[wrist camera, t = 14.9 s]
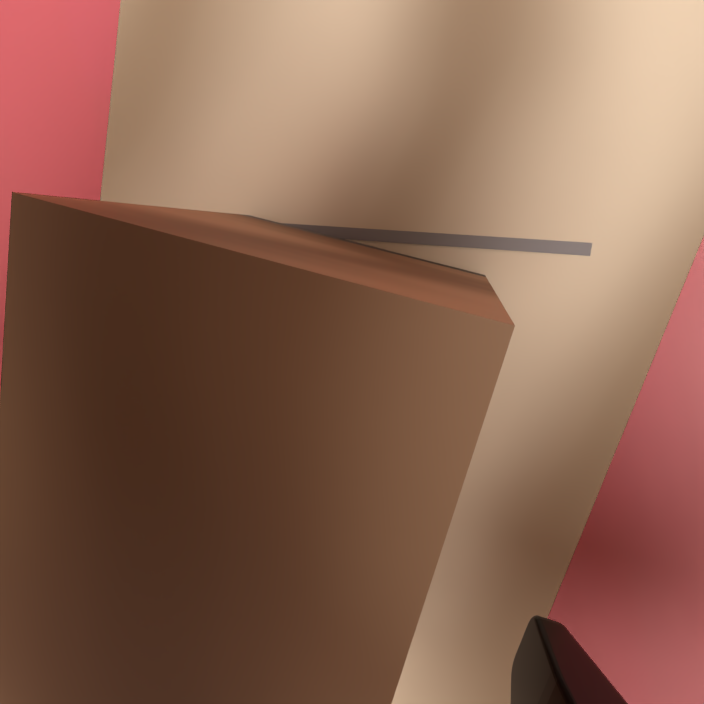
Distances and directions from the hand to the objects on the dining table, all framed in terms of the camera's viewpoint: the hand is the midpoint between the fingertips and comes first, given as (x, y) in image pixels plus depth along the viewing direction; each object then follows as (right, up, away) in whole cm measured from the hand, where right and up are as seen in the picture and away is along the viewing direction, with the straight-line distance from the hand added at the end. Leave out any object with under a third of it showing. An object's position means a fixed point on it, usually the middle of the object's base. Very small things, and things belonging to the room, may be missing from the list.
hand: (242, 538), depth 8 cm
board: (+1, +2, +4) cm, 5 cm away
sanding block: (+1, +1, +3) cm, 4 cm away
